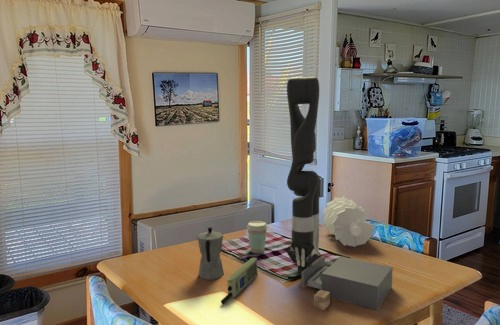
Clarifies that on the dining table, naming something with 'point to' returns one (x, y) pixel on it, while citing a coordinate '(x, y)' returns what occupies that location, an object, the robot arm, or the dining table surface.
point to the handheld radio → (241, 278)
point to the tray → (313, 273)
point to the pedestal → (321, 299)
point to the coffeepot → (210, 255)
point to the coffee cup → (257, 236)
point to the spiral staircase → (347, 222)
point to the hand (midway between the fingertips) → (302, 275)
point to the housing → (358, 282)
